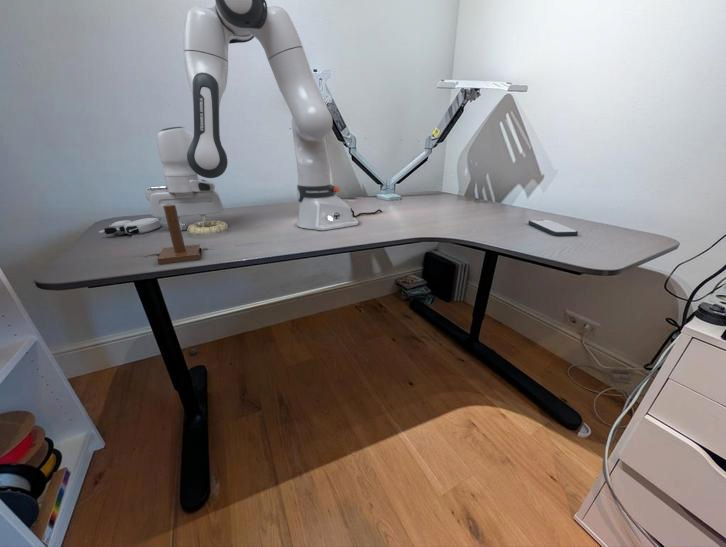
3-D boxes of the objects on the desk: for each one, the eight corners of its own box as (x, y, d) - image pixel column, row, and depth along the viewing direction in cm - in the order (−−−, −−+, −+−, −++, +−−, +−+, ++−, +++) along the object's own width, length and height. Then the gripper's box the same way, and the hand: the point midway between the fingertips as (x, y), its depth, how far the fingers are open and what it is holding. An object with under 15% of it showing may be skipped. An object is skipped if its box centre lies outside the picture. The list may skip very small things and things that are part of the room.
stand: (201, 249, 88) (191, 200, 83) (199, 259, 80) (187, 207, 75) (164, 253, 85) (151, 203, 79) (158, 264, 77) (144, 210, 72)
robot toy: (99, 242, 96) (146, 238, 96) (93, 227, 94) (141, 224, 94) (127, 231, 107) (169, 228, 107) (122, 218, 106) (165, 215, 105)
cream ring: (228, 226, 111) (226, 218, 109) (228, 235, 100) (227, 226, 99) (190, 230, 106) (188, 221, 105) (187, 239, 96) (184, 230, 95)
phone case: (579, 236, 103) (548, 223, 118) (580, 231, 102) (549, 219, 117) (553, 237, 102) (526, 224, 117) (555, 232, 102) (527, 219, 116)
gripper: (141, 188, 89) (153, 234, 95) (218, 184, 96) (226, 228, 102) (145, 185, 95) (157, 229, 100) (219, 182, 102) (226, 224, 107)
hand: (192, 229), depth 101 cm, fingers open, 4 cm apart
